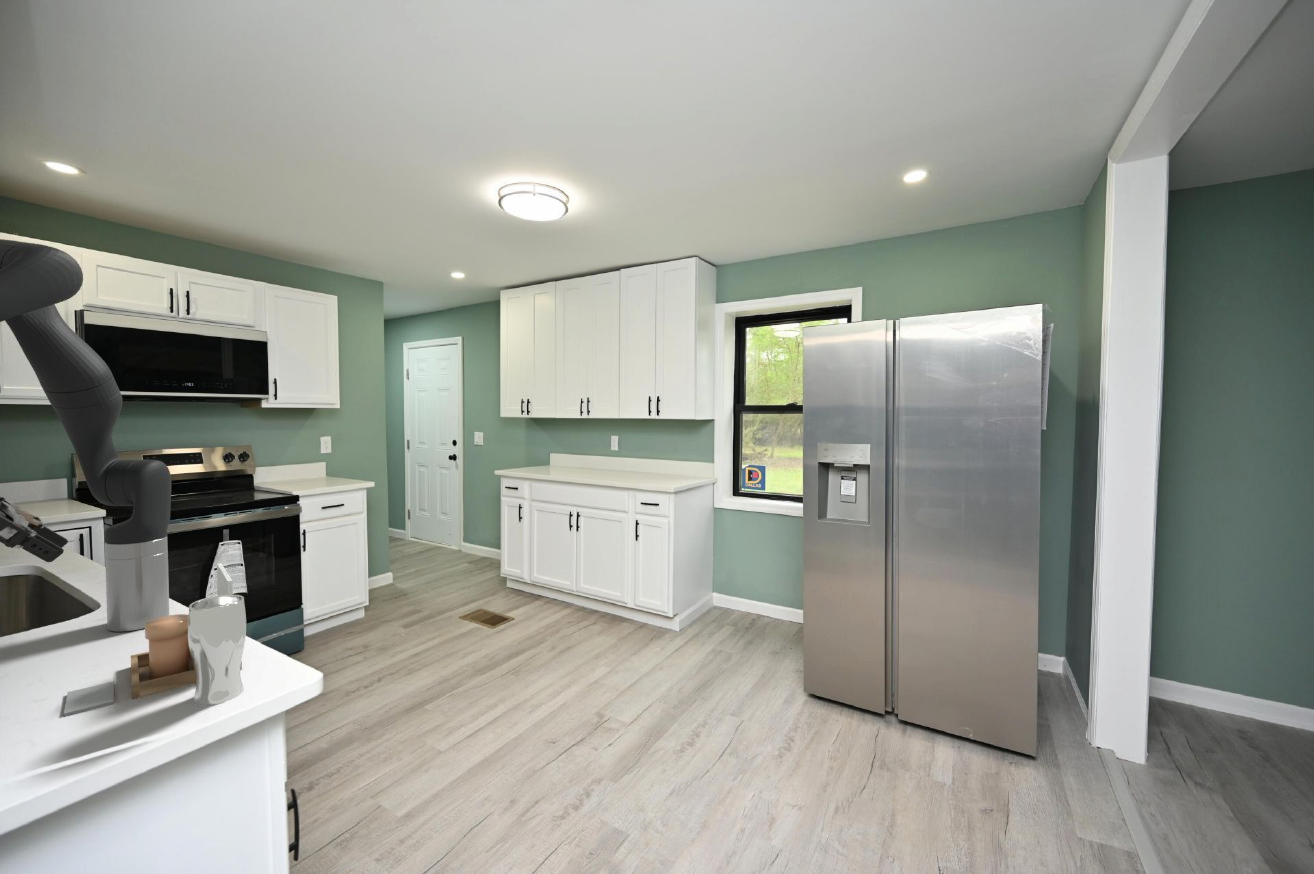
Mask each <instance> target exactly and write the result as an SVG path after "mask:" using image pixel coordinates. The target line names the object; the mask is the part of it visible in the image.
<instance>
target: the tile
mask: <svg viewBox="0 0 1314 874" xmlns="http://www.w3.org/2000/svg"><path fill="white" fill-rule="evenodd" d="M66 693H67V694H66V699H65V704H64V705H65V706H64V711H63V717H67V716H68V717H69V716H71V715H76V714H79V713H85V712H87V711H91V710H95V709H99V708H103V707H106V706H111V705H114V704H115V701H114V699H115V698H114V697H115V681H110V682H109V681H108V682H105V683H100V684H97V685H92V686H87V687H85V688H80V689H75V690H72V691H67V692H66Z"/></svg>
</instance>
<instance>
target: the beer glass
mask: <svg viewBox="0 0 1314 874" xmlns="http://www.w3.org/2000/svg"><path fill="white" fill-rule="evenodd" d="M187 615H188V633H187V635H188V646H189V651H190V655H191V659H192V663H193V667H194V671H195V675H196V683H195V691H194V696H193V700H192V702H193V704H195V706H202V707H203V706H205V707H206V706H215V705H218V704H219V705H220V704H223V703H226V702H229V701H231V700H233V699H236V698H238V697H239V696H240V695H242V694H243V692H244V690H245V688H244V685H243V682H242V676H241V670H240V667H241V660H242V659H243V654H244V650H245V649H244V648H245V642H246V637H247V617H246V616H247V615H246V607H245V597H244V596H242V595H240V594H233V595H221V596H218V595H215V596H210V597H206V598H202V599H199V600H196V601H194V602H192V603H190V604H189V605H188V614H187ZM242 661H243V660H242Z"/></svg>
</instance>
